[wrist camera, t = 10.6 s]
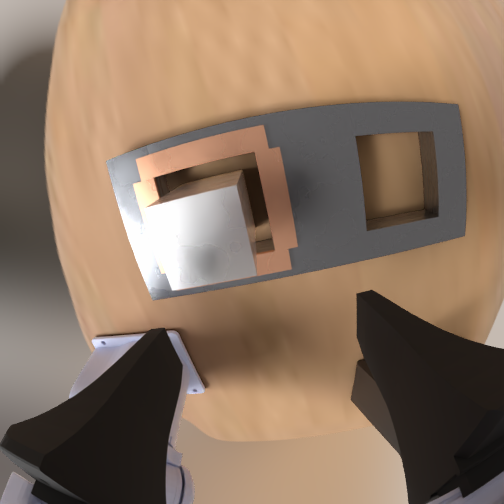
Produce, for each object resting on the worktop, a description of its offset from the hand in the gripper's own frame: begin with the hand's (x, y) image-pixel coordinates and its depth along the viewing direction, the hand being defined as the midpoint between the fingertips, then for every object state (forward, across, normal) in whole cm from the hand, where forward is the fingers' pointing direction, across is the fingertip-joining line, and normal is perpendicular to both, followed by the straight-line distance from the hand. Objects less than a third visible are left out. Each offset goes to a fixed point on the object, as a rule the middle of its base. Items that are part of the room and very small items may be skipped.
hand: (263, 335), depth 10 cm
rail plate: (+10, -4, -3) cm, 11 cm away
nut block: (+10, +2, -3) cm, 11 cm away
